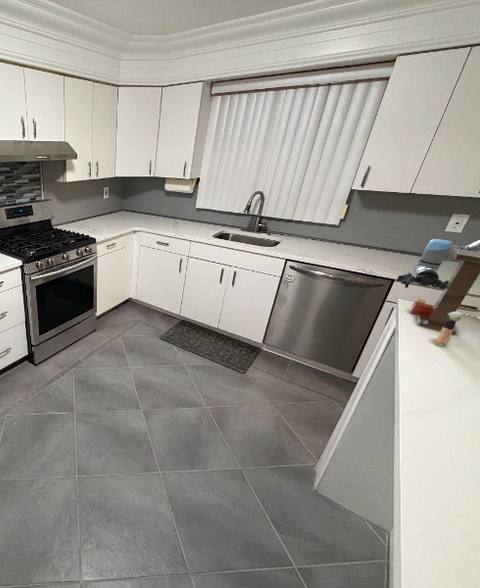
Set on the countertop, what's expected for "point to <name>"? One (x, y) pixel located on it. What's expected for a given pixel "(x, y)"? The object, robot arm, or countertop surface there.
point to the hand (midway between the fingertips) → (429, 289)
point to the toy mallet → (421, 308)
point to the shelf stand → (453, 290)
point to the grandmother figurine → (448, 328)
